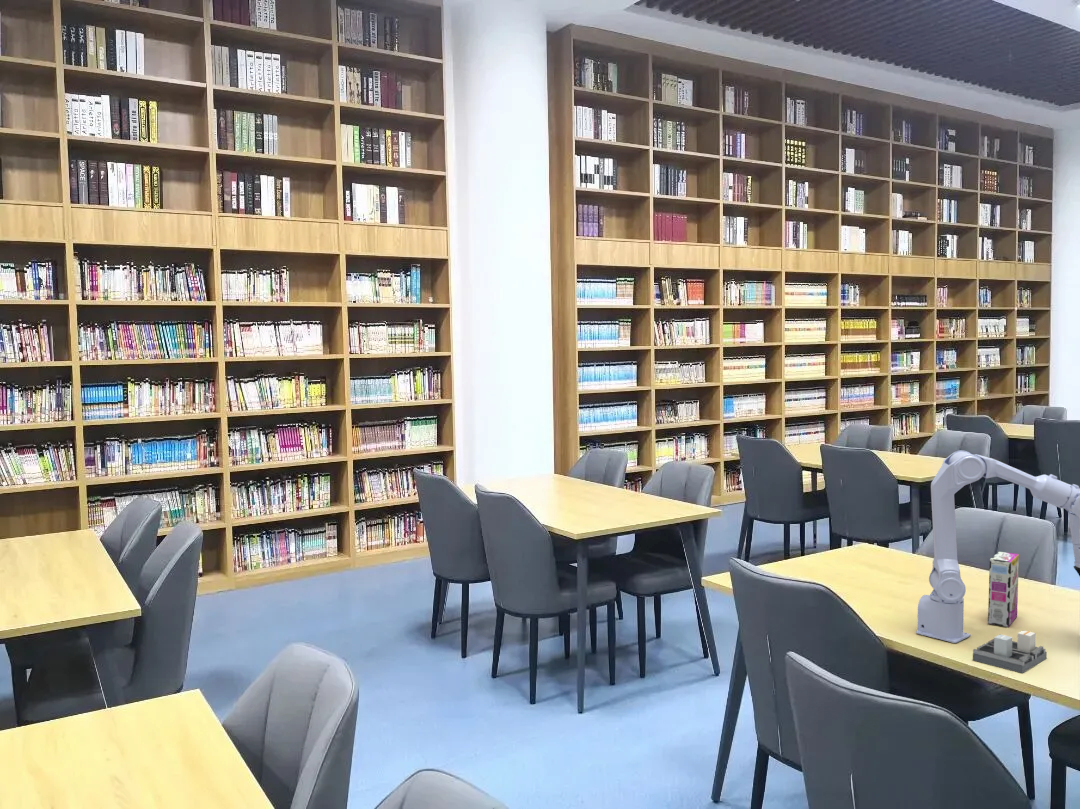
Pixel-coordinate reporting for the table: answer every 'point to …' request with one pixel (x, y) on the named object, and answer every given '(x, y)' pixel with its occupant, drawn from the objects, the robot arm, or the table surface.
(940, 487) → the robot arm
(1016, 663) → the grey divided tray
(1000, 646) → the block
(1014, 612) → the candy bar box
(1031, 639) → the fader
